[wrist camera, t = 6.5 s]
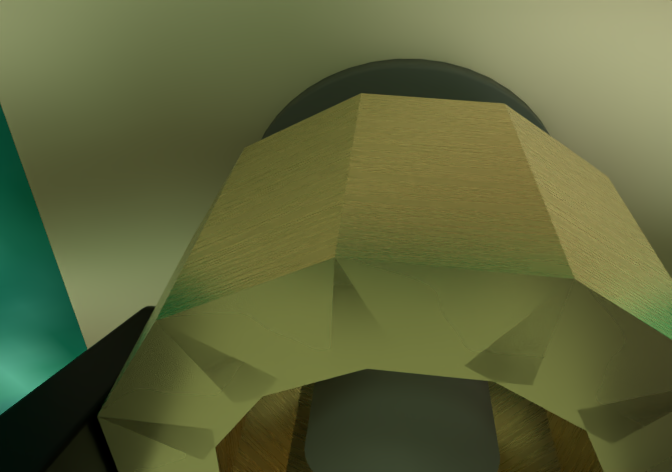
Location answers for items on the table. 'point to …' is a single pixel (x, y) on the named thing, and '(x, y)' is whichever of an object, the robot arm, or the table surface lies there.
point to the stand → (295, 106)
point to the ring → (406, 295)
